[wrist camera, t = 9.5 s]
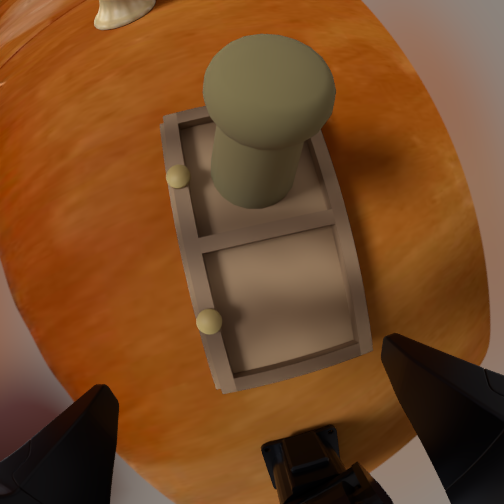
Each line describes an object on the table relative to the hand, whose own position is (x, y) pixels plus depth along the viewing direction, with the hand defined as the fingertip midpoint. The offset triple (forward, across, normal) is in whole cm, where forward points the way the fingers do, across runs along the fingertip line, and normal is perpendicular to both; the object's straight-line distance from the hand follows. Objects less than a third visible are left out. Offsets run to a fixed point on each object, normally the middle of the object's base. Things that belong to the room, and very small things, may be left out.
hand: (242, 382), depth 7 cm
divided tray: (+13, -2, -1) cm, 13 cm away
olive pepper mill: (+14, -2, -5) cm, 15 cm away
